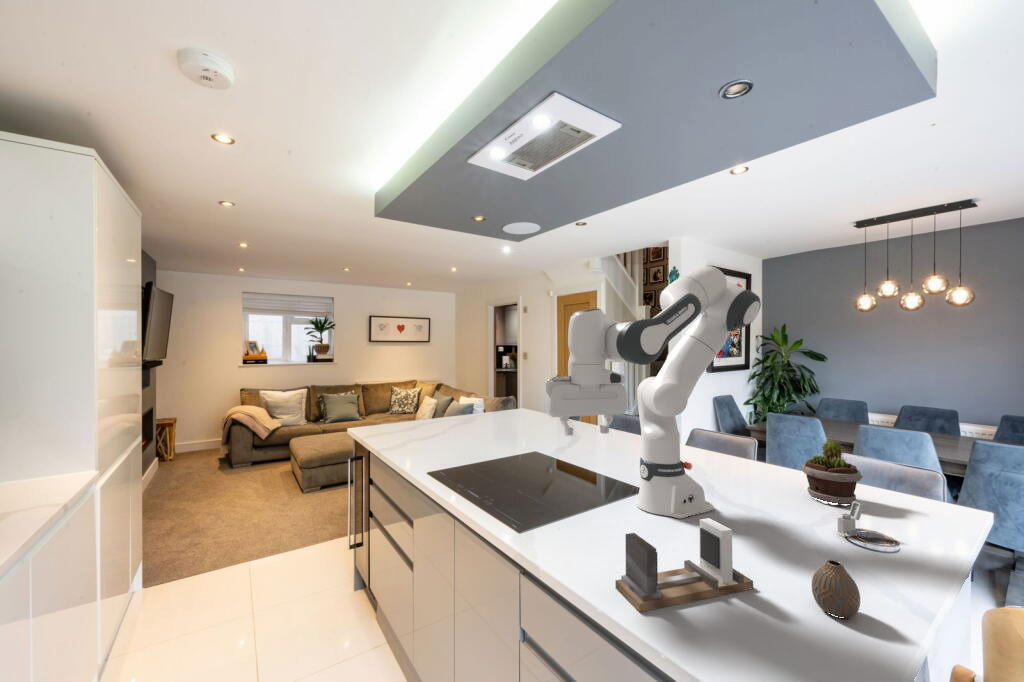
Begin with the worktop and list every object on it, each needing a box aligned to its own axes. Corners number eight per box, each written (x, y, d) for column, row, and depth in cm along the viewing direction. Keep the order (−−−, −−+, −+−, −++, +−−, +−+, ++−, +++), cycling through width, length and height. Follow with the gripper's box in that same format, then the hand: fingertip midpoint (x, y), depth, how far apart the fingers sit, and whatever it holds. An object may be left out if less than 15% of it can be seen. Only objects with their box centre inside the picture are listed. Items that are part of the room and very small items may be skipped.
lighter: (844, 537, 104) (843, 505, 104) (837, 534, 105) (836, 503, 106) (864, 534, 106) (863, 502, 106) (857, 531, 108) (856, 500, 108)
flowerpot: (856, 514, 119) (855, 444, 120) (795, 499, 131) (794, 436, 132) (868, 502, 128) (866, 438, 129) (809, 490, 140) (808, 431, 141)
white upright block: (709, 566, 87) (709, 518, 87) (732, 581, 81) (732, 529, 81) (698, 568, 86) (697, 519, 86) (720, 583, 80) (720, 531, 80)
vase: (802, 601, 77) (801, 554, 77) (836, 599, 78) (835, 552, 78) (834, 625, 70) (833, 573, 70) (871, 623, 71) (870, 572, 71)
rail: (721, 568, 89) (721, 519, 89) (753, 588, 81) (752, 534, 81) (615, 588, 81) (615, 534, 82) (639, 612, 74) (638, 552, 74)
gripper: (551, 377, 92) (551, 439, 92) (630, 376, 98) (631, 434, 98) (541, 376, 98) (541, 434, 98) (616, 374, 104) (617, 429, 104)
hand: (586, 434), depth 98 cm, fingers open, 8 cm apart
